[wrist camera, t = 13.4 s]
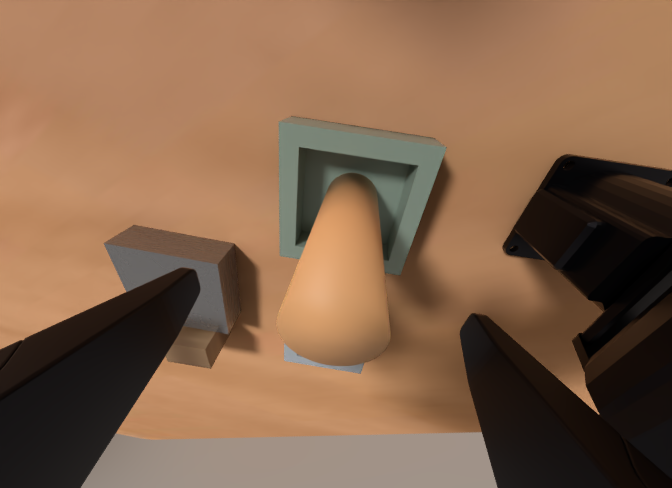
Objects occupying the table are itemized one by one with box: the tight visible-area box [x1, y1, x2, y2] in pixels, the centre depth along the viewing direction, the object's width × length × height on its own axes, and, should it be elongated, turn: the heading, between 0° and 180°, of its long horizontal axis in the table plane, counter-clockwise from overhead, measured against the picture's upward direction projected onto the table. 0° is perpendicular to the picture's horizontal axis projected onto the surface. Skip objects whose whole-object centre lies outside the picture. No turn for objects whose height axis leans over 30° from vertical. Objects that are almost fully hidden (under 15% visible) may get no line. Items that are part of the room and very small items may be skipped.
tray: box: [279, 116, 447, 275], centre depth 15 cm, size 8×8×2 cm
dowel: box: [276, 173, 391, 366], centre depth 11 cm, size 3×3×10 cm
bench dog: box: [166, 326, 231, 369], centre depth 23 cm, size 4×3×4 cm
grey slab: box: [104, 225, 241, 334], centre depth 20 cm, size 8×8×3 cm
